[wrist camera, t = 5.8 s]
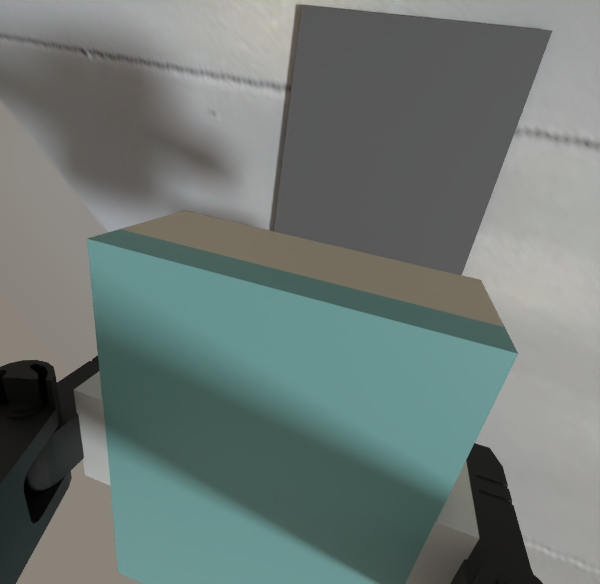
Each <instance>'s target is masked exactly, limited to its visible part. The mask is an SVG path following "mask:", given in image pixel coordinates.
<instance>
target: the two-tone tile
mask: <svg viewBox="0 0 600 584" xmlns="http://www.w3.org/2000/svg"><path fill="white" fill-rule="evenodd" d="M87 243H88V253H89V264H90V275H91V286H92V296H93V307H94V316H95V317H94V318H95V328H96V339H97V350H98V360H99V371H100V382H101V392H102V400H103V409H104V420H105V431H106V441H107V452H108V463H109V474H110V484H111V486H110V487H111V497H112V498H111V499H112V509H113V520H114V531H115V541H116V552H117V562H118V572H119V573H121V574H123V575H125V576H127V577H130V578H132V579H134V580H136V581H138V582H140V583H142V584H405V583H406V581H407V579H408V577H409V575H410V573H411V571H412V569H413V567H414V565H415V563H416V561H417V559H418V556H419V554H420V552H421V550H422V548H423V546H424V544H425V542H426V540H427V538H428V536H429V534H430V532H431V530H432V528H433V526H434V524H435V522H436V521H437V519H438V517H439V515H440V513H441V511H442V509H443V507H444V504H445V502H446V500H447V498H448V496H449V494H450V492H451V490H452V488H453V486H454V484H455V482H456V480H457V478H458V476H459V474H460V472H461V470H462V468H463V465H464V463H465V461H466V459H467V457H468V455H469V453H470V451H471V449H472V447H473V445H474V443H475V441H476V439H477V437H478V435H479V433H480V431H481V429H482V427H483V424H484V422H485V420H486V418H487V416H488V414H489V412H490V410H491V408H492V406H493V404H494V402H495V400H496V398H497V396H498V394H499V392H500V390H501V388H502V385H503V383H504V381H505V379H506V377H507V375H508V373H509V371H510V369H511V367H512V365H513V363H514V361H515V359H516V357H517V355H518V353H517V351H516V349H515V347H514V345H513V343H512V341H511V339H510V337H509V335H508V333H507V331H506V329H505V327H504V325H503V323H502V321H501V319H500V317H499V315H498V313H497V311H496V309H495V307H494V305H493V303H492V301H491V299H490V297H489V295H488V293H487V291H486V289H485V287H484V285H483V284H482V282H481V280H479V279H474V278H470V277H466V276H462V275H457V274H453V273H449V272H444V271H440V270H436V269H432V268H427V267H423V266H419V265H415V264H410V263H406V262H402V261H397V260H393V259H389V258H385V257H380V256H376V255H372V254H368V253H363V252H359V251H355V250H350V249H346V248H342V247H338V246H333V245H329V244H325V243H321V242H316V241H312V240H308V239H303V238H299V237H295V236H291V235H286V234H282V233H278V232H274V231H269V230H265V229H261V228H256V227H252V226H248V225H244V224H239V223H235V222H231V221H227V220H222V219H218V218H214V217H209V216H205V215H201V214H197V213H192V212H188V211H181V212H178V213H175V214H171V215H168V216H164V217H161V218H157V219H154V220H150V221H147V222H143V223H140V224H136V225H133V226H130V227H126V228H123V229H119V230H116V231H112V232H109V233H105V234H102V235H98V236H95V237H92V238H88V239H87Z"/></svg>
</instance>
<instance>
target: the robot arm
mask: <svg viewBox="0 0 600 584" xmlns="http://www.w3.org/2000/svg"><path fill="white" fill-rule="evenodd" d="M82 459H83V464H84V471H85V475H86V476H89V477H91V478H94V479H96V480H98V481H101V482H103V483H105V484H108V485H110V486H111V484H110V474H109V463H108V452H107V441H106V431H105V420H104V409H103V400H102V392H101V382H100V371H99V360H98V356H96V357H95V358H93V360H92V361H89V362H87V363H86V364H84V365H83V366H81V367H80V368H78V369H77V370H75V371H74V372H72V373H71V374H69V375H68V376H66V377H65V378H64V379H62V380H61V381H59V382H58V383H57V382H56V376H55V371H54V367H53V366H51V365H50V364H49V363H47V362H43V361H38V360H23V361H18V362H14V363H9V364H7V365H4V366H2V367H0V584H16V582H17V580H18V578H19V577H20V575H21V573H22V571H23V569H24V567H25V565H26V564H27V562H28V560H29V558H30V556H31V555H32V553H33V551H34V549H35V548H36V546H37V544H38V542H39V540H40V538H41V536H42V535H43V533H44V531H45V529H46V527H47V526H48V524H49V522H50V520H51V518H52V517H53V515H54V513H55V511H56V509H57V507H58V506H59V504H60V502H61V500H62V498H63V496H64V495H65V493H66V491H67V489H68V487H69V484H70V481H71V470H72V469H73V468H74V467H75V466H76V465H77V464H78V463H79V462H80V461H81V460H82ZM507 486H508V485H507V481H506V477H505V474H504V470H503V467H502V465H501V464H500V462H499V461H498V459H497V458H496V456H495V455H494V454H493V452H492V451H491V449H490V448H488V447H485V446H482V445H478V444H475V443H474V445H473V447H472V449H471V451H470V453H469V455H468V457H467V459H466V461H465V463H464V465H463V468H462V470H461V472H460V474H459V476H458V478H457V480H456V482H455V484H454V486H453V488H452V490H451V492H450V494H449V496H448V498H447V500H446V502H445V504H444V507H443V509H442V511H441V513H440V515H439V517H438V519H437V521H436V522H435V524H434V526H433V528H432V530H431V532H430V534H429V536H428V538H427V540H426V542H425V544H424V546H423V548H422V550H421V552H420V554H419V556H418V559H417V561H416V563H415V565H414V567H413V569H412V571H411V573H410V575H409V577H408V579H407V581H406V583H405V584H543V583H542V582H541V581H540V580H539V579H538V578H537V577H536V576H534V575H533V572H532V570H531V567H530V563H529V560H528V556H527V552H526V549H525V545H524V542H523V538H522V535H521V531H520V527H519V524H518V520H517V517H516V513H515V510H514V506H513V505H512V499H511V495H510V492H509V489H507Z"/></svg>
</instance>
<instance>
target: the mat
mask: <svg viewBox="0 0 600 584" xmlns="http://www.w3.org/2000/svg"><path fill="white" fill-rule="evenodd" d="M551 33H552V31H549V30H540V29H530V28H520V27H510V26H501V25H491V24H481V23H471V22H462V21H452V20H442V19H432V18H423V17H413V16H403V15H394V14H384V13H374V12H364V11H355V10H345V9H335V8H325V7H316V6H306V5H302V7H301V15H300V23H299V31H298V39H297V47H296V55H295V63H294V71H293V79H292V87H291V95H290V103H289V111H288V119H287V127H286V135H285V143H284V151H283V159H282V167H281V176H280V184H279V192H278V200H277V208H276V216H275V224H274V232H278V233H282V234H286V235H291V236H295V237H299V238H303V239H308V240H312V241H316V242H321V243H325V244H329V245H333V246H338V247H342V248H346V249H350V250H355V251H359V252H363V253H368V254H372V255H376V256H380V257H385V258H389V259H393V260H397V261H402V262H406V263H410V264H415V265H419V266H423V267H427V268H432V269H436V270H440V271H444V272H449V273H453V274H457V275H462V272H463V270H464V267H465V264H466V262H467V259H468V256H469V253H470V251H471V248H472V245H473V243H474V240H475V237H476V235H477V232H478V229H479V227H480V224H481V221H482V219H483V216H484V213H485V210H486V208H487V205H488V202H489V200H490V197H491V194H492V192H493V189H494V186H495V184H496V181H497V178H498V175H499V173H500V170H501V167H502V165H503V162H504V159H505V157H506V154H507V151H508V149H509V146H510V143H511V140H512V138H513V135H514V132H515V130H516V127H517V124H518V122H519V119H520V116H521V114H522V111H523V108H524V105H525V103H526V100H527V97H528V95H529V92H530V89H531V87H532V84H533V81H534V79H535V76H536V73H537V71H538V68H539V65H540V62H541V60H542V57H543V54H544V52H545V49H546V46H547V44H548V41H549V38H550V36H551Z"/></svg>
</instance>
